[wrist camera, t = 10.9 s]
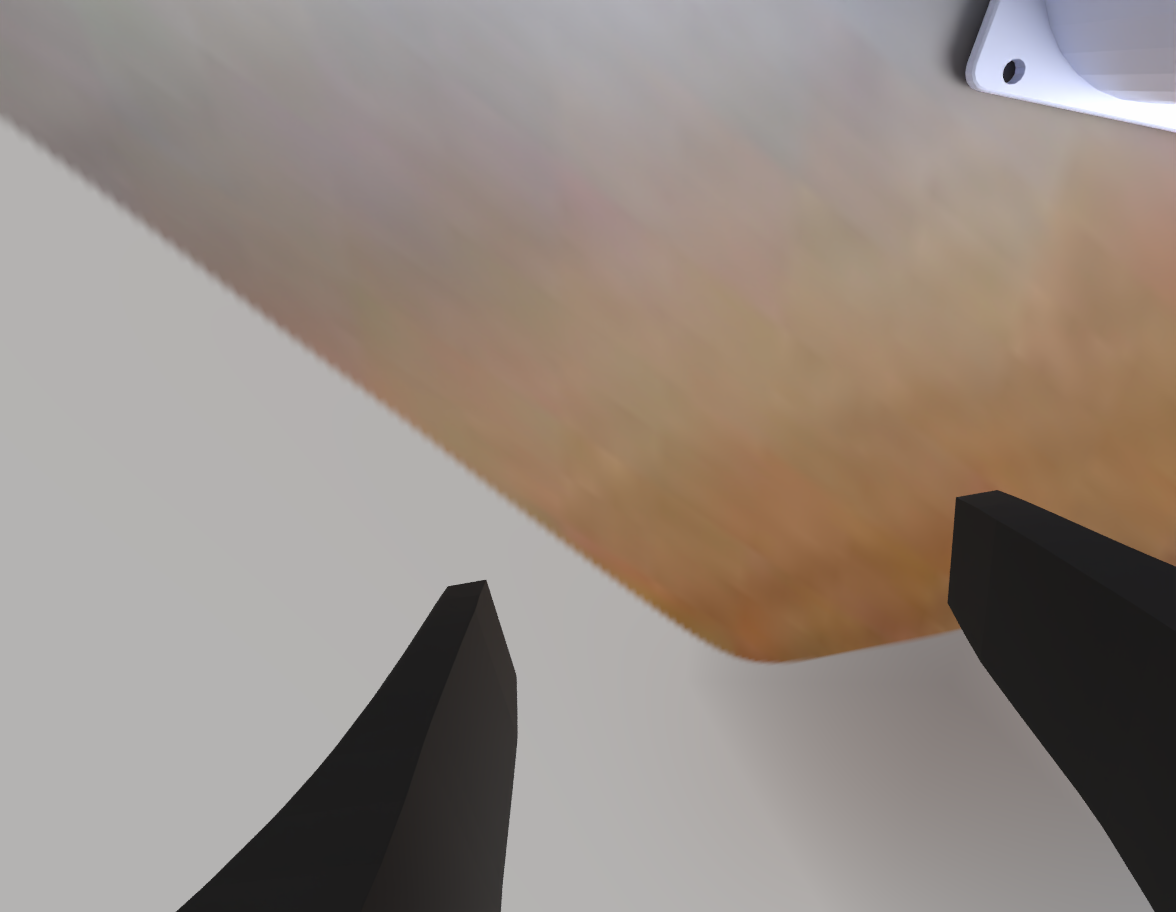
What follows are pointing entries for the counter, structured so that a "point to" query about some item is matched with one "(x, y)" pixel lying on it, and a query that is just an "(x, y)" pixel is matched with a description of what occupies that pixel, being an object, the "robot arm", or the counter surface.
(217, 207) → the counter surface
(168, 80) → the counter surface
